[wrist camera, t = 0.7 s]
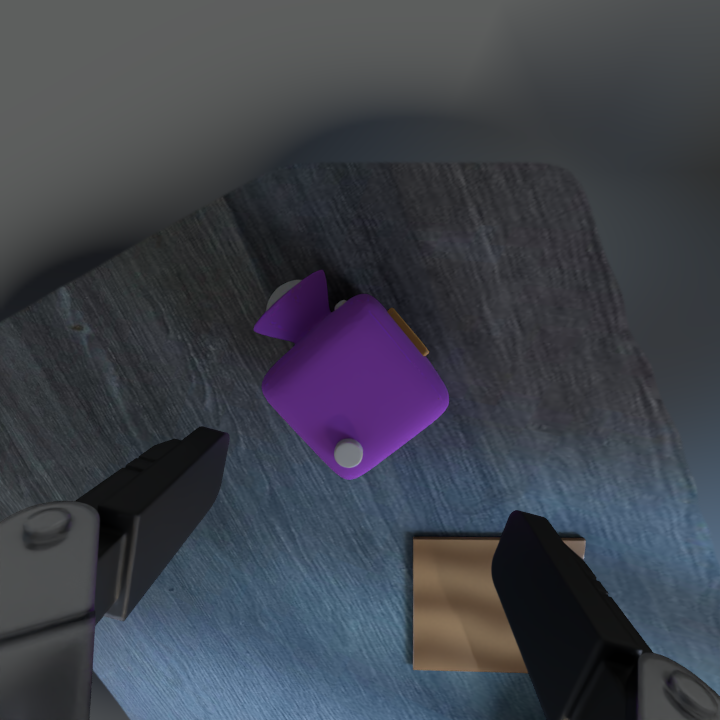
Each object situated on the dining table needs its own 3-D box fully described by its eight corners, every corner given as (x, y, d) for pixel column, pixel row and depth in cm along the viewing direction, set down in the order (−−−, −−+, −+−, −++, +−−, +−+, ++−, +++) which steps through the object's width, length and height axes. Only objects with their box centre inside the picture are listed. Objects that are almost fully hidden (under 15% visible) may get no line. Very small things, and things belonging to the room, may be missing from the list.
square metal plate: (412, 536, 33) (413, 539, 33) (583, 537, 33) (586, 540, 32) (412, 665, 37) (413, 669, 36) (567, 670, 36) (569, 674, 36)
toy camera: (321, 248, 28) (291, 229, 18) (449, 351, 29) (485, 385, 20) (248, 350, 30) (186, 382, 20) (370, 442, 31) (367, 513, 22)
